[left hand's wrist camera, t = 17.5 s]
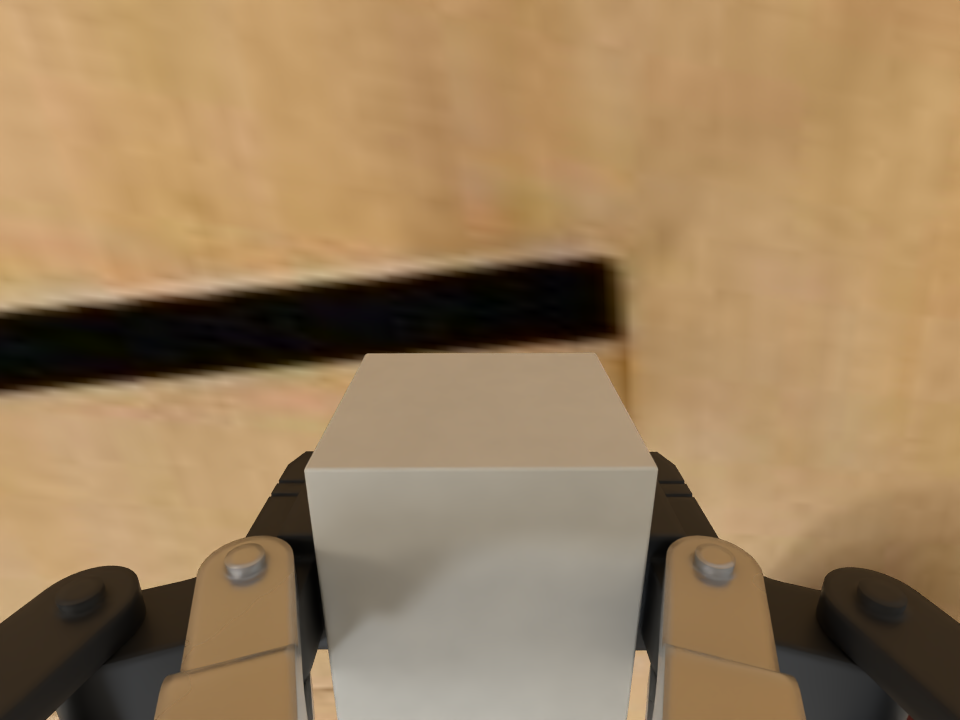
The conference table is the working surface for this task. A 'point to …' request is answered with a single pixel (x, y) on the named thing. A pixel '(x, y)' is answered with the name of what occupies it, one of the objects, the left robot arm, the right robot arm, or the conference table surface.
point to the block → (481, 538)
